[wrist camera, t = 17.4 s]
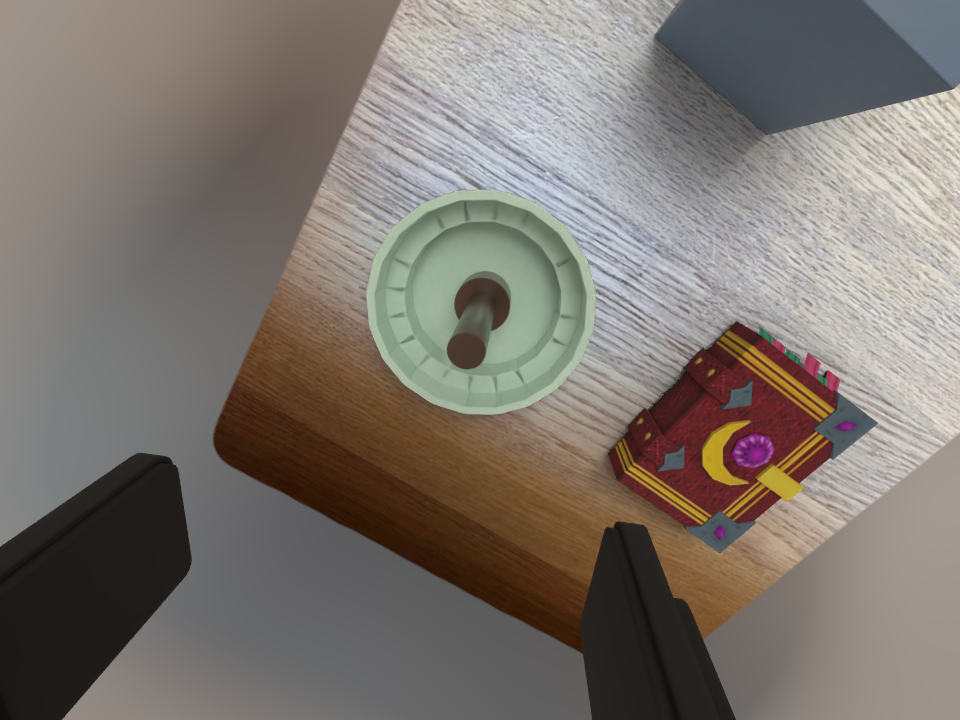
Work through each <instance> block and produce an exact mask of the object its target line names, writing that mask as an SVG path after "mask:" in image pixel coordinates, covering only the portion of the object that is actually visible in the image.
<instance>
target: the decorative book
mask: <svg viewBox="0 0 960 720" xmlns="http://www.w3.org/2000/svg"><path fill="white" fill-rule="evenodd" d="M759 330H760V335H759V334H757V333H755V332H754V331H752V330H750V329H749V328H747V327H745V326H743V325H742V324H740V323H738V322H736V323H735V324H734V325H733V326H732V327H731V328H730V329H729V330H728V331H727V332H726V333H725V334H724V335H723V336H722V337H721V338H720V339H719V340H718V341H717V342H716V343H715V344H714V345H713V346H712V347H711V348H710V349H709V350H708V351H706V350H705V349H704V348H703V349H702V350H701V351H700V352H699V353H698V354H697V355H696V356H695V357H694V358H693V359H692V360H691V361H690V362H689V364H688V365H687V366H686V367H685V369H686V370H687V371H688V372H687V373H686V374H685V375H684V376H683V377H682V378H681V379H680V380H679V381H678V382H677V383H676V384H675V385H674V386H673V388H672V389H671V390H670V391H669V392H668V393H667V394H666V395H665V396H664V397H663V398H662V399H661V400H660V401H659V402H658V403H657V404H656V405H655V406H654V407H653V408H652V409H651V410H650V411H648V410H647V409H644V410H643V411H642V412H641V413H640V414H639V415H638V416H637V417H636V418H635V420H634V421H633V422H632V423H631V424H630V425H629V428H630V430H631V431H630V432H629V433H628V434H627V435H626V436H625V437H624V438H623V439H622V440H621V441H620V442H619V443H618V444H617V445H616V446H615V447H614V448H613V449H612V450H611V451H610V452H609V453H608V455H609V458H610V461H611V464H612V466H613V469H614V472H615V475H616V478H617V480H618V481H620V482H621V483H623V484H624V485H626V486H627V487H629V488H630V489H631V490H633V491H634V492H636V493H637V494H639V495H640V496H642V497H643V498H645V499H646V500H648V501H649V502H651V503H652V504H653V505H655V506H656V507H658V508H659V509H661V510H662V511H664V512H665V513H667V514H668V515H670V516H671V517H673V518H674V519H675V520H677V521H678V522H680V523H681V524H683V526H684V527H685V529H686V530H687V531H689V532H690V533H692V534H693V535H694V536H696V537H697V538H699V539H700V540H702V541H703V542H705V543H706V544H707V545H709V546H710V547H712V548H713V549H715V550H716V551H718V552H719V553H721V552H722V551H723V550H725V549H726V548H727V547H728V546H729V545H730V544H732V543H733V542H734V541H735V540H736V539H738V538H739V537H740V536H741V535H742V534H744V533H745V532H746V531H747V530H748V529H750V528H751V527H752V526H753V525H754V524H755V523H756V522H755V521H754V520H755V519H756V518H758V517H759V516H760V515H761V514H763V513H764V512H765V511H766V510H767V509H769V508H770V507H771V506H772V505H773V504H775V503H776V502H777V501H778V500H779V499H781V498H783V499H785V500H786V501H788V500H790V499H791V498H792V497H793V496H794V495H796V494H797V493H798V492H799V491H801V490H802V489H803V488H804V487H803V486H802V485H801V484H800V482H801V481H802V480H804V479H805V478H806V477H807V476H808V475H810V474H811V473H812V472H813V471H815V470H816V469H817V468H818V467H819V466H821V465H822V464H823V463H824V462H825V461H827V460H828V459H829V458H831V459H832V460H833V459H834V458H836V457H837V456H838V455H839V454H841V453H842V452H843V451H844V450H846V449H847V448H848V447H849V446H851V445H852V444H853V443H854V442H856V441H857V440H858V439H859V438H861V437H862V436H863V435H864V434H865V433H867V432H868V431H869V430H870V429H872V428H873V427H874V426H875V425H877V424H878V423H877V422H876V421H875V420H873V419H872V418H871V417H869V416H868V415H867V414H865V413H864V412H863V411H862V410H860V409H859V408H858V407H856V406H855V405H854V404H852V403H851V402H850V401H848V400H847V399H846V398H845V397H843V396H842V395H841V394H839V393H838V392H837V388H838V385H839V382H840V379H838V378H837V377H836V376H835V375H833V374H832V373H831V372H830V371H828V372H827V375H826V378H824V377H822V376H821V375H820V374H818V369H819V367H820V364H821V363H820V362H819V361H817V360H816V359H815V358H814V357H812V356H811V355H810V354H807V357H806V360H805V369H803V368H802V367H801V366H799V365H798V363H799V360H800V359H799V358H797V357H796V356H795V355H793V354H792V353H791V352H790V351H788V350H786V352H785V354H784V351H785V347H784V346H783V345H782V344H781V343H780V342H779V341H777V340H776V339H775V338H773V337H772V336H771V335H770V334H768V333H767V332H766V331H764V330H763V329H762V328H760V327H759Z"/></svg>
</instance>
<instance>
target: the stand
mask: <svg viewBox="0 0 960 720" xmlns="http://www.w3.org/2000/svg"><path fill="white" fill-rule="evenodd" d="M655 37H656V38H657V39H658V40H659V41H660V42H661V43H662V44H664V45H665V46H666V47H667V48H668V49H669V50H670V51H672V52H673V53H674V54H675V55H676V56H677V57H678V58H680V59H681V60H682V61H683V62H684V63H685V64H686V65H688V66H689V67H690V68H691V69H692V70H693V71H694V72H696V73H697V74H698V75H699V76H700V77H701V78H702V79H704V80H705V81H706V82H707V83H708V84H709V85H710V86H712V87H713V88H714V89H715V90H716V91H717V92H718V93H720V94H721V95H722V96H723V97H724V98H725V99H726V100H728V101H729V102H730V103H731V104H732V105H733V106H734V107H736V108H737V109H738V110H739V111H740V112H741V113H742V114H744V115H745V116H746V117H747V118H748V119H749V120H750V121H752V122H753V123H754V124H755V125H756V126H757V127H758V128H760V129H761V130H762V131H763V132H764V133H765V134H766V135H769V134H773V133H777V132H781V131H785V130H789V129H793V128H797V127H801V126H805V125H809V124H814V123H818V122H822V121H826V120H830V119H834V118H838V117H842V116H846V115H850V114H854V113H859V112H863V111H867V110H871V109H875V108H879V107H883V106H887V105H891V104H895V103H899V102H903V101H908V100H912V99H916V98H920V97H924V96H928V95H932V94H936V93H940V92H944V91H948V90H952V89H954V88H955V87H956V86H957V85H958V84H959V83H960V0H680V1H679V2H678V4H677V5H676V6H675V8H674V9H673V11H672V12H671V13H670V15H669V16H668V18H667V19H666V20H665V22H664V23H663V25H662V26H661V27H660V29H659V30H658V32H657V33H656V34H655Z"/></svg>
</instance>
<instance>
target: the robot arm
mask: <svg viewBox="0 0 960 720" xmlns="http://www.w3.org/2000/svg"><path fill="white" fill-rule="evenodd" d="M190 565H191V551H190V544H189V538H188V531H187V525H186V518H185V512H184V505H183V498H182V492H181V485H180V479H179V473H178V468H177V467H176V465H173V463H172V461H171V459H170V458H169V457H166V456H160V455H152V454H146V453H137V454H135V455H133V456H131V457H130V458H128V459H127V460H126V461H124V462H123V463H121V464H120V465H118V466H117V467H115V468H114V469H112V470H111V471H110V472H108V473H107V474H105V475H104V476H102V477H101V478H99V479H98V480H97V481H95V482H94V483H92V484H91V485H89V486H88V487H86V488H85V489H83V490H82V491H81V492H79V493H78V494H76V495H75V496H73V497H72V498H70V499H69V500H67V501H66V502H65V503H63V504H62V505H60V506H59V507H57V508H56V509H54V510H53V511H51V512H50V513H49V514H47V515H46V516H44V517H43V518H41V519H40V520H38V521H37V522H36V523H34V524H33V525H31V526H30V527H28V528H27V529H25V530H24V531H22V532H21V533H20V534H18V535H17V536H15V537H14V538H12V539H11V540H9V541H8V542H6V543H5V544H3V545H2V546H1V547H0V720H62V719H63V718H64V717H65V715H66V714H67V713H68V712H69V711H70V710H71V708H72V707H73V706H74V705H75V704H76V703H77V702H78V700H79V699H80V698H81V697H82V696H83V695H84V693H85V692H86V691H87V690H88V689H89V688H90V687H91V685H92V684H93V683H94V682H95V681H96V680H97V678H98V677H99V676H100V675H101V674H102V673H103V671H104V670H105V669H106V668H107V667H108V666H109V664H110V663H111V662H112V661H113V660H114V659H115V657H116V656H117V655H118V654H119V653H120V652H121V651H122V649H123V648H124V647H125V646H126V645H127V644H128V642H129V641H130V640H131V639H132V638H133V637H134V635H135V634H136V633H137V632H138V631H139V630H140V629H141V627H142V626H143V625H144V624H145V623H146V621H147V620H148V619H149V618H150V617H151V616H152V615H153V613H154V612H155V611H156V610H157V609H158V608H159V606H160V605H161V604H162V603H163V602H164V601H165V600H166V598H167V597H168V596H169V595H170V594H171V592H172V591H173V590H174V589H175V588H176V587H177V585H178V584H179V583H180V582H181V581H182V580H183V578H184V577H185V576H186V575H187V573H188V571H189V569H190ZM580 633H581V643H582V650H583V657H584V663H585V671H586V678H587V685H588V692H589V699H590V707H591V714H592V720H736V719H735V716H734V714H733V711H732V709H731V707H730V704H729V702H728V699H727V697H726V694H725V692H724V690H723V687H722V685H721V682H720V680H719V678H718V675H717V673H716V670H715V668H714V666H713V663H712V660H711V658H710V656H709V653H708V651H707V649H706V646H705V644H704V641H703V639H702V636H701V634H700V631H699V629H698V626H697V624H696V622H695V619H694V617H693V614H692V612H691V610H690V608H689V606H688V604H687V603H686V602H685V601H684V600H683V599H678V598H673V596H672V593H671V590H670V588H669V585H668V582H667V580H666V577H665V575H664V572H663V569H662V567H661V564H660V562H659V559H658V556H657V554H656V551H655V548H654V546H653V543H652V541H651V538H650V535H649V533H648V530H647V528H646V527H645V526H644V525H640V524H633V523H626V522H619V521H618V522H616V523H615V525H614V527H613V528H610V527H606V529H605V531H604V535H603V538H602V542H601V546H600V550H599V554H598V557H597V561H596V565H595V569H594V572H593V576H592V580H591V584H590V587H589V591H588V595H587V599H586V603H585V606H584V610H583V614H582V618H581V627H580Z"/></svg>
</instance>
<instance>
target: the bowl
mask: <svg viewBox="0 0 960 720" xmlns="http://www.w3.org/2000/svg"><path fill="white" fill-rule="evenodd" d="M480 271H489V272H493V273H496V274H498V275H499V276H501V277H502V278H503V279H504V280H505V281H506V283H507V284H508V286H509V289H510V292H511V303H510V311H509V315H508V317H507V319H506V321H505V322H504V323H503V324H502V325H501V326H500V327H499V328H497V329H495V330H493V331H491V333H490V338H489V342H488V347H487V351H486V356H485V359H484V361H483V362H482V363H481V364H480V365H479V366H478V367H476V368H473V369H461V368H458V367H457V366H455V365H454V364H453V363H452V362H451V361H450V360H449V358H448V355H447V345H448V342H449V340H450V338H451V336H452V334H453V332H454V330H455V328H456V326H457V324H458V322H459V319H458V317H457V315H456V313H455V308H454V301H455V297H456V294H457V292H458V290H459V289H460V287H461V285H462V284H463V282H464V281H465V280H466V279H467V278H468V277H469V276H470V275H472V274H474V273H476V272H480ZM366 299H367V309H368V319H369V327H370V331H371V333H372V335H373V338H374V340H375V342H376V345H377V347H378V349H379V352H380V354H381V357H382V359H383V360H384V361H385V363H386V364H387V365H388V366H389V367H390V369H391V370H392V371H393V372H394V373H395V375H396V376H397V377H398V378H399V379H400V381H401V382H402V383H403V384H404V385H405V386H406V387H408V388H409V389H411V390H412V391H414V392H415V393H417V394H418V395H420V396H421V397H423V398H424V399H426V400H427V401H429V402H430V403H432V404H435V405H438V406H441V407H444V408H447V409H450V410H453V411H456V412H459V413H464V414H485V415H496V414H497V415H498V414H502V413H505V412H509V411H513V410H517V409H521V408H524V407H528V406H530V405H532V404H533V403H535V402H537V401H538V400H540V399H542V398H543V397H545V396H546V395H548V394H550V393H551V392H553V391H555V390H556V389H557V388H558V387H559V386H560V385H561V384H562V383H563V382H564V381H565V379H566V378H567V377H568V376H569V375H570V374H571V372H572V371H573V370H574V369H575V368H576V367H577V366H578V364H579V363H580V361H581V359H582V357H583V354H584V352H585V349H586V347H587V345H588V342H589V340H590V338H591V335H592V333H593V330H594V317H595V305H596V292H595V288H594V284H593V280H592V276H591V272H590V268H589V264H588V260H587V258H586V256H585V255H584V253H583V252H582V250H581V249H580V247H579V246H578V244H577V242H576V241H575V239H574V238H573V236H572V235H571V233H570V232H569V230H568V229H567V227H565V225H563V224H562V223H561V222H560V221H558V220H557V219H556V218H554V217H553V216H552V215H551V214H549V213H548V212H547V211H545V210H544V209H543V208H541V207H540V206H539V205H538V204H536V203H535V202H533V201H530V200H527V199H524V198H521V197H518V196H515V195H512V194H509V193H506V192H503V191H500V190H459V191H454V192H452V193H449V194H446V195H443V196H441V197H438V198H435V199H432V200H430V201H427V202H424V203H422V204H420V205H419V206H418V207H417V208H415V209H414V210H413V211H412V212H411V213H409V214H408V215H407V216H406V217H405V218H403V219H402V220H401V221H400V222H398V223H397V224H396V225H395V226H394V227H393V228H392V229H391V231H390V232H389V234H388V236H387V237H386V239H385V241H384V242H383V244H382V245H381V247H380V249H379V250H378V252H377V254H376V255H375V257H374V259H373V264H372V268H371V273H370V277H369V282H368V286H367V291H366Z"/></svg>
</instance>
